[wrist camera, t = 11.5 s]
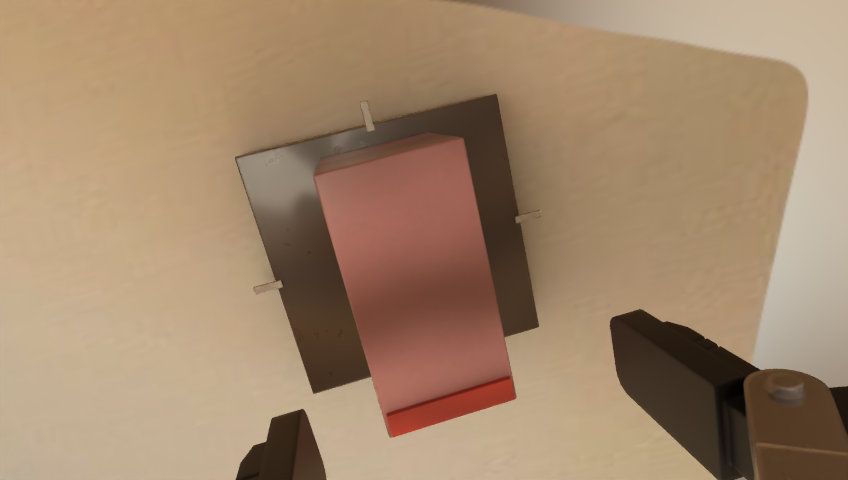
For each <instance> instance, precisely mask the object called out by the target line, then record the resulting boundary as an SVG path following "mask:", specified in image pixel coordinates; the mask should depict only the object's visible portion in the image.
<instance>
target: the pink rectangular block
mask: <svg viewBox="0 0 848 480" xmlns="http://www.w3.org/2000/svg"><path fill="white" fill-rule="evenodd" d="M313 179H314V182H315V186H316V189H317V193H318V196H319V199H320V203H321V206H322V210H323V213H324V217H325V220H326V223H327V227H328V230H329V234H330V237H331V240H332V244H333V247H334V251H335V254H336V257H337V261H338V264H339V268H340V271H341V275H342V278H343V281H344V285H345V288H346V292H347V295H348V298H349V302H350V305H351V309H352V312H353V315H354V319H355V322H356V326H357V329H358V333H359V336H360V339H361V343H362V346H363V350H364V353H365V356H366V360H367V363H368V367H369V370H370V373H371V377H372V380H373V384H374V387H375V391H376V394H377V397H378V401H379V404H380V408H381V411H382V414H383V418H384V421H385V425H386V428H387V431H388V435H389V437H390V438H392V437H396V436H399V435H402V434H405V433H409V432H412V431H415V430H418V429H421V428H425V427H428V426H431V425H434V424H437V423H441V422H444V421H447V420H450V419H454V418H457V417H460V416H463V415H466V414H470V413H473V412H476V411H479V410H482V409H486V408H489V407H492V406H495V405H498V404H502V403H505V402H508V401H511V400H514V399H516V392H515V387H514V382H513V377H512V372H511V367H510V363H509V358H508V353H507V348H506V343H505V338H504V333H503V328H502V323H501V319H500V314H499V309H498V304H497V299H496V294H495V289H494V284H493V279H492V275H491V270H490V265H489V260H488V255H487V250H486V245H485V240H484V236H483V231H482V226H481V221H480V216H479V211H478V206H477V201H476V196H475V192H474V187H473V182H472V177H471V172H470V167H469V162H468V157H467V152H466V148H465V143H464V139H463V138H462V137H456V136H449V135H442V134H435V133H429V132H427V133H423V134H419V135H415V136H411V137H406V138H402V139H398V140H394V141H390V142H386V143H382V144H378V145H374V146H370V147H366V148H362V149H358V150H354V151H350V152H346V153H342V154H338V155H334V156H330V157H326V158H322V159H320V160H319V163H318V165H317V167H316V170H315V172H314V174H313Z"/></svg>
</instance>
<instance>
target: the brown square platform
mask: <svg viewBox="0 0 848 480" xmlns="http://www.w3.org/2000/svg"><path fill="white" fill-rule="evenodd" d="M360 105H361V109H362V113H363V117H364V120H365V124H366V125H362V126H358V127H354V128H349V129H345V130H341V131H337V132H333V133H329V134H325V135H321V136H316V137H312V138H308V139H304V140H300V141H296V142H292V143H287V144H283V145H279V146H275V147H271V148H267V149H263V150H259V151H254V152H250V153H246V154H243V155H240V156H237V157H235V160H236V163H237V166H238V169H239V172H240V175H241V178H242V181H243V184H244V187H245V190H246V193H247V196H248V199H249V202H250V205H251V208H252V211H253V214H254V217H255V220H256V223H257V226H258V229H259V232H260V235H261V238H262V241H263V244H264V247H265V250H266V253H267V256H268V259H269V262H270V265H271V268H272V271H273V274H274V277H275V280H276V281H274V282H271V283H267V284H263V285H260V286H256V287H254V288H253V289H254V292H255V294H259V293H263V292H267V291H270V290H274V289H279V292H280V295H281V298H282V301H283V304H284V307H285V310H286V313H287V316H288V319H289V322H290V325H291V328H292V331H293V334H294V337H295V340H296V343H297V346H298V349H299V352H300V355H301V358H302V361H303V364H304V367H305V370H306V373H307V376H308V379H309V382H310V385H311V388H312V391H313V393H314V394H316V393H319V392H322V391H326V390H329V389H332V388H336V387H339V386H342V385H346V384H349V383H353V382H356V381H359V380H363V379H366V378H369V377H371V373H370V370H369V367H368V363H367V360H366V356H365V353H364V350H363V346H362V343H361V339H360V336H359V333H358V329H357V326H356V322H355V319H354V315H353V312H352V309H351V305H350V302H349V298H348V295H347V292H346V288H345V285H344V281H343V278H342V275H341V271H340V268H339V264H338V261H337V257H336V254H335V251H334V247H333V244H332V240H331V237H330V234H329V230H328V227H327V223H326V220H325V217H324V213H323V210H322V206H321V203H320V199H319V196H318V193H317V189H316V186H315V182H314V179H313V174H314V172H315V170H316V167H317V165H318V163H319V160H320V159H322V158H326V157H330V156H334V155H338V154H342V153H346V152H350V151H354V150H358V149H362V148H366V147H370V146H374V145H378V144H382V143H386V142H390V141H394V140H398V139H402V138H406V137H411V136H415V135H419V134H423V133H427V132H429V133H435V134H442V135H449V136H456V137H462V138H463V139H464V143H465V148H466V152H467V157H468V162H469V167H470V172H471V177H472V182H473V187H474V192H475V196H476V201H477V206H478V211H479V216H480V221H481V226H482V231H483V236H484V240H485V245H486V250H487V255H488V260H489V265H490V270H491V275H492V279H493V284H494V289H495V294H496V299H497V304H498V309H499V314H500V319H501V323H502V328H503V333H504V337H507V336H510V335H514V334H517V333H521V332H524V331H527V330H531V329H534V328H537V327H539V324H538V318H537V313H536V307H535V302H534V296H533V291H532V285H531V280H530V274H529V269H528V263H527V258H526V252H525V247H524V241H523V236H522V231H521V225H520V222H523V221H527V220H531V219H534V218H538V217H541V215H540V210H536V211H533V212H529V213H525V214H522V215H519V214H518V209H517V203H516V198H515V192H514V187H513V181H512V176H511V170H510V165H509V159H508V154H507V148H506V143H505V137H504V132H503V126H502V121H501V115H500V110H499V104H498V99H497V95H496V94H493V95H486V96H481V97H477V98H473V99H469V100H465V101H461V102H457V103H453V104H448V105H444V106H440V107H436V108H432V109H428V110H424V111H420V112H415V113H411V114H407V115H403V116H399V117H395V118H391V119H387V120H382V121H378V122H374V123H373V121H372V117H371V113H370V109H369V105H368V101H363V102H360Z"/></svg>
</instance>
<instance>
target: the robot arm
mask: <svg viewBox="0 0 848 480" xmlns="http://www.w3.org/2000/svg"><path fill="white" fill-rule="evenodd" d="M610 329H611V336H612V343H613V350H614V358H615V365H616V371H617V375H618V378H619V381H620V383H621V385H622V387H623V389H624V390H625V392H626V393H627V394H628V395H629V396H630V397H631V398H632V399H633V400H634V401H635V402H636V403H637V404H638V405H639V406H640V407H641V408H642V409H644V410H645V411H646V412H647V413H648V414H649V415H650V416H651V417H652V418H653V419H654V420H655V421H656V422H657V423H658V424H659V425H660V426H662V427H663V428H664V429H665V430H666V431H667V432H668V433H669V434H670V435H671V436H672V437H673V438H674V439H675V440H676V441H677V442H678V443H680V444H681V445H682V446H683V447H684V448H685V449H686V450H687V451H688V452H689V453H690V454H691V455H692V456H693V457H694V458H695V459H696V460H698V461H699V462H700V463H701V464H702V465H703V466H704V467H705V468H706V469H707V470H708V471H709V472H710V473H711V474H712V475H713V476H714V477H715V478H717V479H718V480H735V479H738V478H741V477H745V478H746V479H747V480H848V386H847V387H834V388H828V387H827V386H826V385H825V384H824V383H823V382H822V381H820V380H819V379H817V378H815V377H813V376H810V375H808V374H805V373H802V372H798V371H793V370H787V369H766V370H760V369H758V368H756V367H755V366H753V365H751V364H750V363H748V362H746V361H744V360H743V359H741V358H739V357H738V356H736V355H734V354H733V353H731V352H729V351H727V350H726V349H724V348H722V347H721V346H720V347H718V346H717V344H716V343H714V342H712V341H711V340H709V339H705V338H704V336H702V335H700V334H699V333H697V332H695V331H694V330H692V329H690V328H688V327H685V326H682V325H678V324H674V323H671V322H661V321H660V320H658V319H657V318H655V317H653V316H652V315H650V314H649V313H647V312H645V311H644V310H641V309H639V310H636V311H632V312H629V313H625V314H622V315H619V316H615V317H613V318H612V319H611V321H610ZM236 480H326V473H325V469H324V465H323V461H322V458H321V455H320V452H319V449H318V446H317V443H316V440H315V437H314V434H313V431H312V428H311V426H310V423H309V420H308V417H307V414H306V412H305V411H304V410H303V409H301V410H297V411H294V412H290V413H287V414H284V415H280V416H277V417H274V418H272V420H271V423H270V428H269V432H268V437H267V441H266V442H264V443H261V444H257V445H254V446H253V447H252V449H251V450H250V451H249V453H248V454H247V455H246V457H245V458H244V459H243V461H242V462H241V464H240V467H239V471H238V474H237V477H236Z"/></svg>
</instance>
